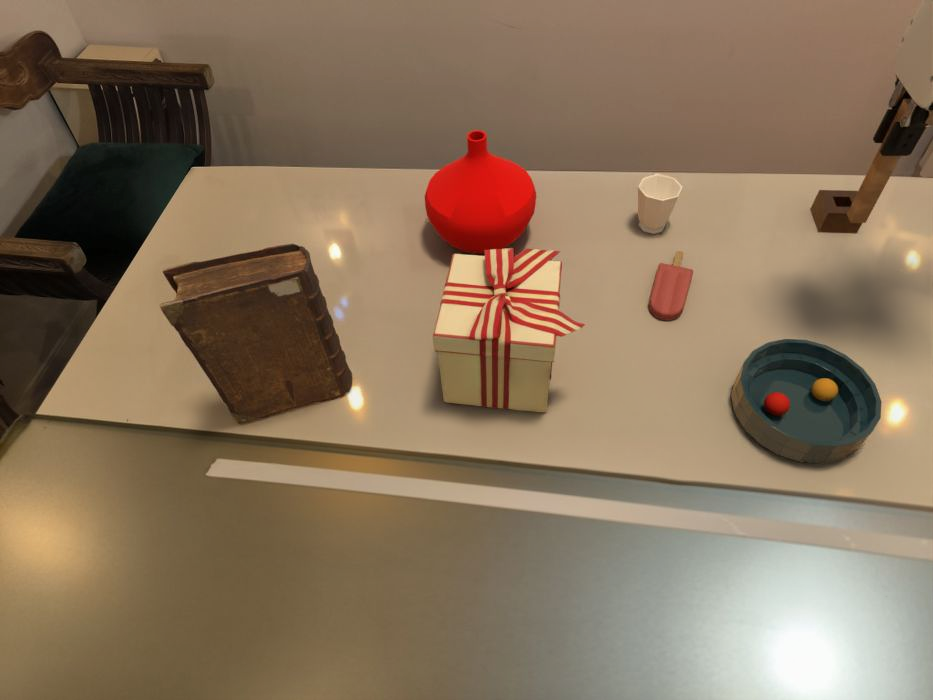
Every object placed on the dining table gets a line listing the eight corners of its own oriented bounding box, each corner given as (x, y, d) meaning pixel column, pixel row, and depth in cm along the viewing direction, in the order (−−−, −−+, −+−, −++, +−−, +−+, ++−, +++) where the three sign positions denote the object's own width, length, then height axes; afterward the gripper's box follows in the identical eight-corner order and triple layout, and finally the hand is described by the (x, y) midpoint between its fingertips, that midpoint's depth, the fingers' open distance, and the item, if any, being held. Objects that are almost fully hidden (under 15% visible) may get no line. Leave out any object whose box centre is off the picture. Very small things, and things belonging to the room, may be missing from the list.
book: (353, 367, 89) (308, 238, 70) (356, 407, 85) (308, 281, 65) (239, 387, 88) (161, 261, 69) (236, 428, 84) (151, 306, 64)
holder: (847, 209, 104) (857, 190, 101) (857, 233, 100) (868, 213, 97) (810, 208, 105) (819, 189, 101) (818, 232, 101) (828, 212, 98)
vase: (433, 202, 112) (421, 105, 97) (533, 199, 111) (536, 101, 96) (425, 271, 101) (410, 174, 86) (536, 270, 99) (540, 170, 84)
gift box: (578, 415, 82) (590, 333, 68) (442, 412, 83) (428, 332, 70) (572, 320, 92) (582, 233, 79) (452, 319, 94) (441, 233, 80)
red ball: (778, 385, 80) (792, 393, 77) (783, 405, 80) (797, 413, 78) (756, 394, 80) (770, 402, 77) (762, 413, 80) (775, 422, 78)
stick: (861, 213, 79) (921, 97, 66) (865, 223, 78) (927, 106, 65) (846, 214, 79) (903, 98, 67) (850, 223, 78) (909, 107, 66)
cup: (632, 238, 103) (639, 200, 96) (628, 201, 109) (635, 162, 102) (674, 239, 102) (685, 200, 96) (668, 201, 108) (678, 162, 102)
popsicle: (698, 251, 98) (682, 317, 89) (695, 258, 99) (680, 324, 90) (664, 244, 99) (646, 309, 91) (662, 251, 100) (644, 316, 92)
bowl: (844, 364, 84) (860, 342, 80) (879, 470, 74) (899, 450, 70) (722, 358, 86) (732, 336, 82) (740, 460, 76) (753, 440, 72)
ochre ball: (845, 399, 78) (839, 379, 77) (821, 407, 79) (815, 388, 78) (833, 391, 81) (827, 371, 80) (810, 399, 82) (804, 379, 81)
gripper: (1074, 9, 51) (952, 190, 65) (992, -61, 61) (901, 111, 75) (976, 12, 52) (877, 190, 66) (911, -57, 61) (837, 111, 76)
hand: (891, 147), depth 70 cm, fingers closed on stick, 1 cm apart
